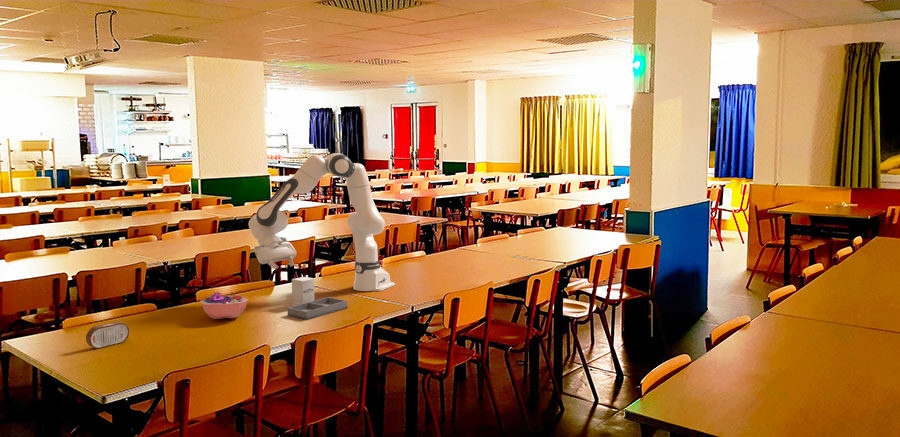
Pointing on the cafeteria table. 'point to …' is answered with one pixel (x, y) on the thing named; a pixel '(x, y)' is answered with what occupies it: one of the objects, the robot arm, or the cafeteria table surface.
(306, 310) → the grey divided tray
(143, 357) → the cafeteria table surface
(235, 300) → the cell model
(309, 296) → the supplement box
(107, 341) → the tin
